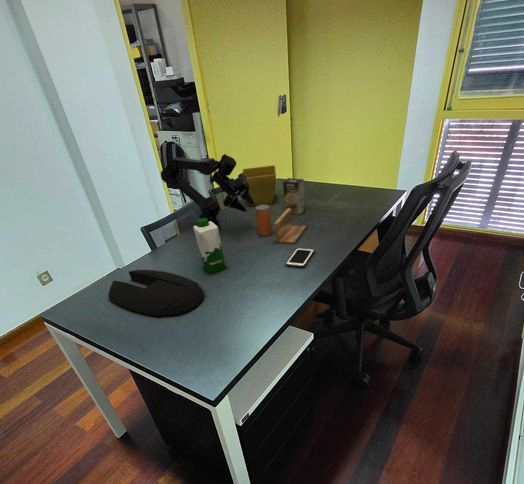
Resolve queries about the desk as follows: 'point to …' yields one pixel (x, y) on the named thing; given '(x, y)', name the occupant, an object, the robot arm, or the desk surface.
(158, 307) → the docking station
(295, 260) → the cell phone
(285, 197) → the coffee box
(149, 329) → the desk surface
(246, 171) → the cardboard box
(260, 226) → the tin can
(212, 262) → the milk carton
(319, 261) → the desk surface
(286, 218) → the wooden bookend
